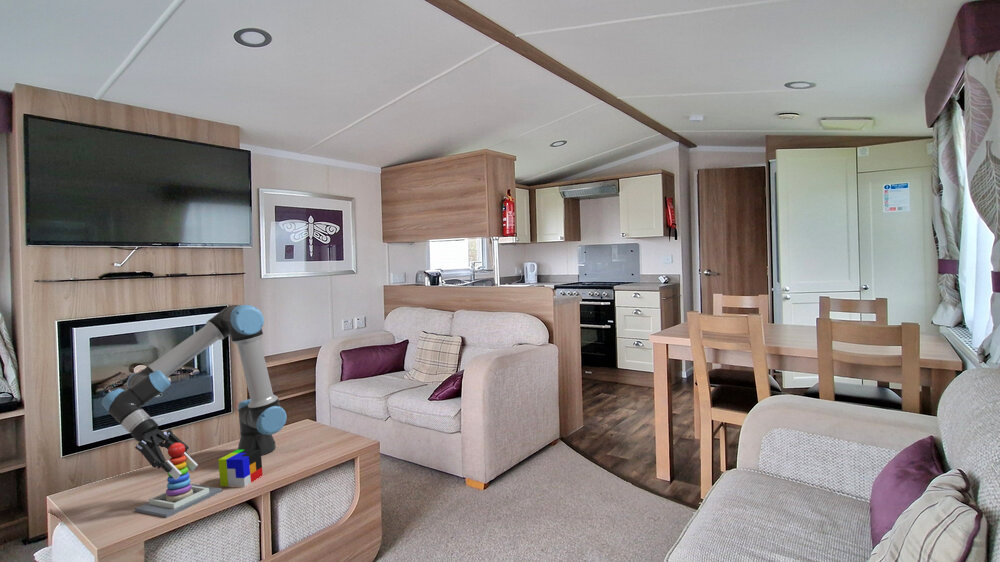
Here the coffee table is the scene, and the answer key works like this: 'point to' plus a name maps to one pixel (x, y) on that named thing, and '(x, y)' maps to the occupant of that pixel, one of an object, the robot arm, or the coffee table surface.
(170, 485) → the stacking toy
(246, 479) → the puzzle toy
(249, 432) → the robot arm
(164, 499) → the board
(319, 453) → the coffee table surface
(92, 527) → the coffee table surface
